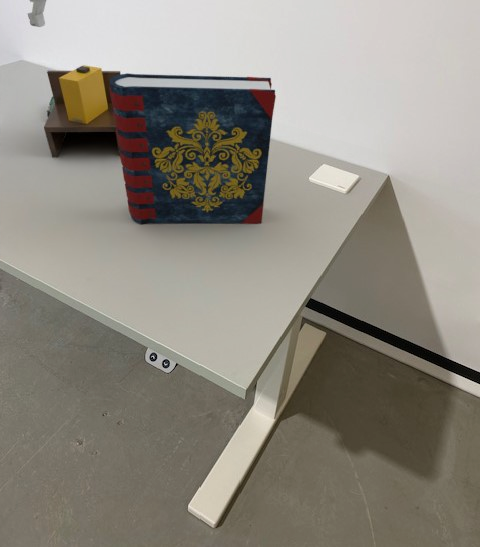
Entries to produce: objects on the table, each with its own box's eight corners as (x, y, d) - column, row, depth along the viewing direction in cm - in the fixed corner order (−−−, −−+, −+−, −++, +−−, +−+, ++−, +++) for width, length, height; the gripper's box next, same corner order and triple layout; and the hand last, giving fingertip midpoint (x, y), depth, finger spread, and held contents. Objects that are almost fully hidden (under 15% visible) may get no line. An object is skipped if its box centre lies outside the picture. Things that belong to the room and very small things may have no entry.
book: (127, 225, 78) (104, 87, 60) (131, 204, 83) (111, 71, 65) (262, 225, 80) (276, 92, 63) (258, 204, 85) (271, 76, 68)
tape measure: (86, 124, 92) (77, 77, 85) (68, 120, 92) (57, 74, 86) (108, 108, 98) (100, 64, 91) (91, 105, 99) (82, 61, 92)
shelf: (51, 157, 94) (34, 93, 85) (62, 129, 104) (47, 70, 95) (124, 155, 96) (115, 93, 87) (128, 129, 106) (120, 70, 97)
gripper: (-99, -98, 58) (-56, 17, 67) (28, -85, 54) (55, 35, 63) (-62, -98, 62) (-27, 9, 72) (58, -87, 58) (79, 25, 68)
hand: (13, 21), depth 68 cm, fingers open, 8 cm apart
